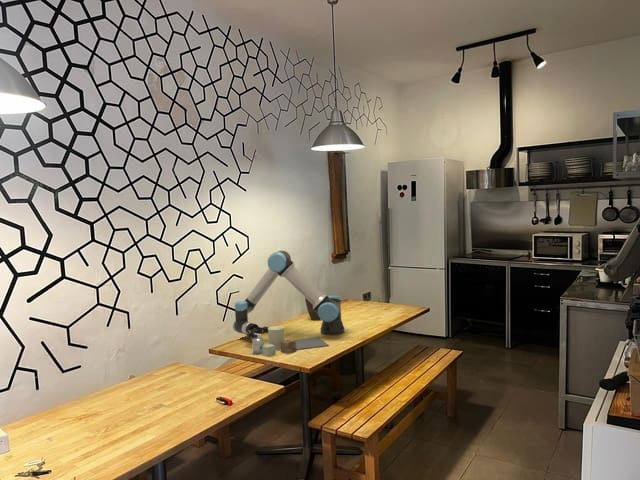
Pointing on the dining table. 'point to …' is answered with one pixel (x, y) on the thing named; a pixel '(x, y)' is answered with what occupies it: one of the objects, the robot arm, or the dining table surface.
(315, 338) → the charcoal mat
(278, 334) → the can
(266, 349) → the sage block
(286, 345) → the walnut block
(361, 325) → the dining table surface
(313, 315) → the plant pot
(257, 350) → the grey tin
